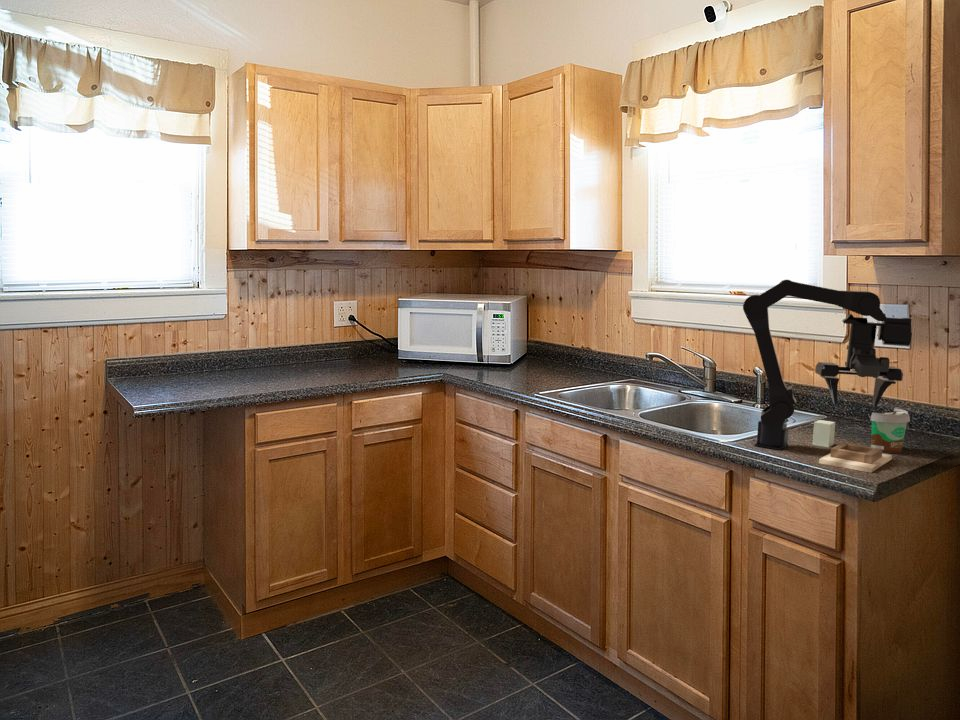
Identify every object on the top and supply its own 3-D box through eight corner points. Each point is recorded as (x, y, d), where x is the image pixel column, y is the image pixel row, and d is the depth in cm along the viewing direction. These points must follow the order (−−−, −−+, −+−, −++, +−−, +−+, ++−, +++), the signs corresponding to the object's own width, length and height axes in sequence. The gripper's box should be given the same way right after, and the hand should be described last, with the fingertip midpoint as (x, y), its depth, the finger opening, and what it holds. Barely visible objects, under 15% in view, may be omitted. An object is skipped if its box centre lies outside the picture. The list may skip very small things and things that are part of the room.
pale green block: (812, 444, 203) (814, 422, 202) (817, 442, 206) (819, 419, 205) (828, 447, 201) (830, 424, 200) (833, 444, 204) (835, 422, 203)
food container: (892, 456, 192) (895, 416, 191) (867, 451, 197) (870, 412, 196) (916, 450, 199) (920, 411, 198) (891, 445, 204) (895, 407, 203)
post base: (818, 463, 184) (819, 450, 184) (841, 450, 197) (842, 439, 197) (871, 472, 177) (872, 459, 176) (891, 459, 189) (892, 447, 189)
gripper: (831, 344, 183) (824, 409, 185) (915, 349, 181) (907, 415, 183) (817, 339, 194) (811, 401, 196) (897, 343, 192) (889, 406, 194)
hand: (854, 405), depth 192 cm, fingers open, 9 cm apart
